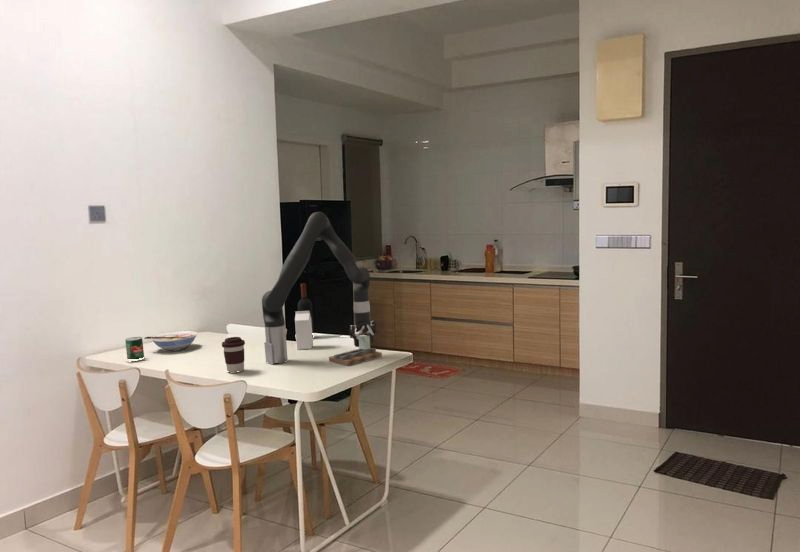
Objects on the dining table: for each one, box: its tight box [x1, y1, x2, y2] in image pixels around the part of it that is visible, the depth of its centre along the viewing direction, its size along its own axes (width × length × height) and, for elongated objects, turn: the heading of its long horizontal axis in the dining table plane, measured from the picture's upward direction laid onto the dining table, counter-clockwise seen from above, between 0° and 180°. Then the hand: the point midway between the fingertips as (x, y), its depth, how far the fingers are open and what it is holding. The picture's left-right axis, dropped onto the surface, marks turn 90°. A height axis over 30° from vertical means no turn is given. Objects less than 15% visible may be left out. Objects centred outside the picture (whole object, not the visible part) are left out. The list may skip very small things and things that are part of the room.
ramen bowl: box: [144, 330, 198, 351], centre depth 335 cm, size 25×23×8 cm
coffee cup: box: [221, 336, 246, 372], centre depth 282 cm, size 10×10×15 cm
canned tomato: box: [124, 336, 145, 360], centre depth 315 cm, size 8×8×11 cm
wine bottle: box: [297, 283, 315, 334], centre depth 343 cm, size 8×8×30 cm
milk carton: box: [294, 310, 314, 351], centre depth 320 cm, size 7×7×19 cm
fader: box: [357, 334, 371, 351], centre depth 295 cm, size 3×5×8 cm, turn 42°
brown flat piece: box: [328, 347, 383, 367], centre depth 292 cm, size 20×14×4 cm
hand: (364, 344), depth 295 cm, fingers open, 8 cm apart
